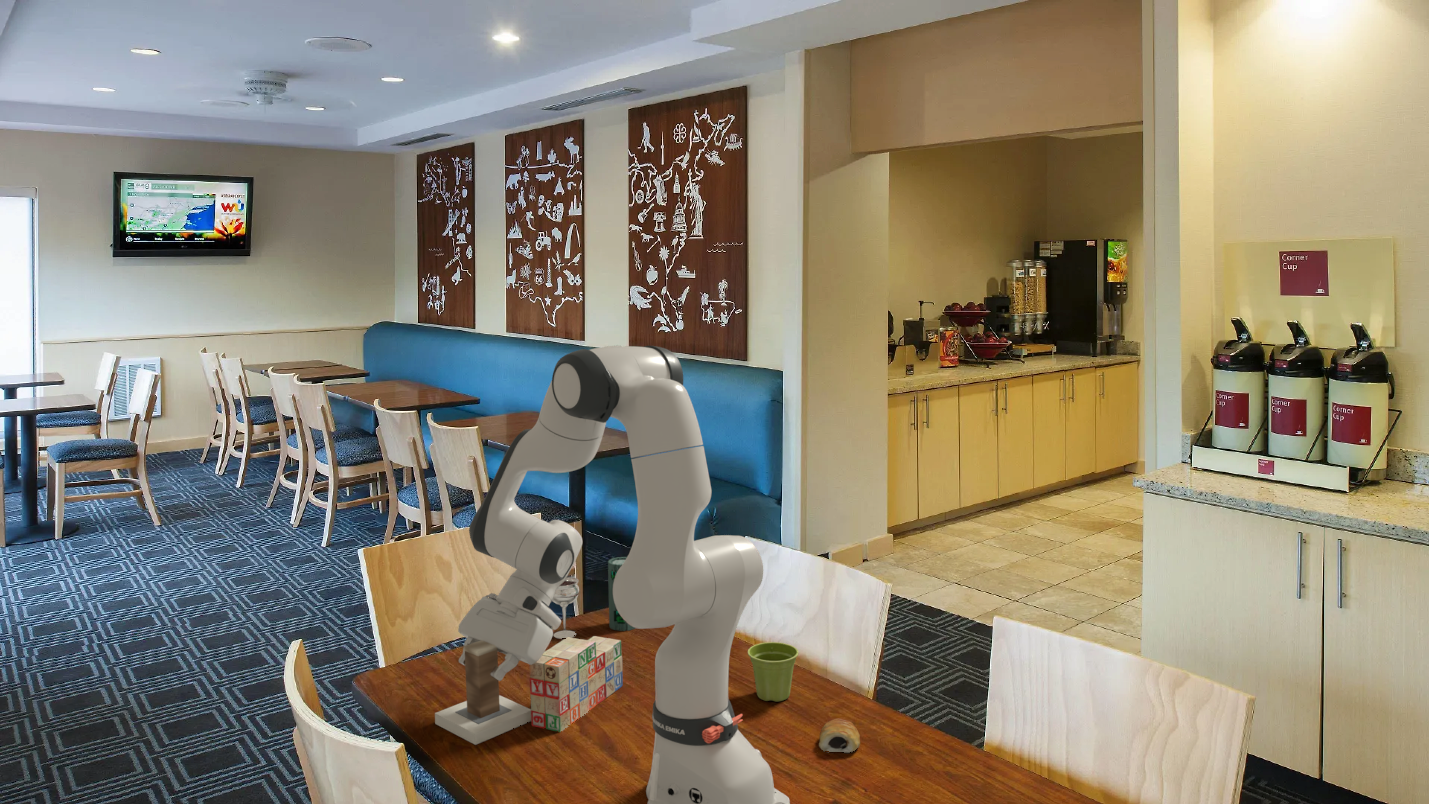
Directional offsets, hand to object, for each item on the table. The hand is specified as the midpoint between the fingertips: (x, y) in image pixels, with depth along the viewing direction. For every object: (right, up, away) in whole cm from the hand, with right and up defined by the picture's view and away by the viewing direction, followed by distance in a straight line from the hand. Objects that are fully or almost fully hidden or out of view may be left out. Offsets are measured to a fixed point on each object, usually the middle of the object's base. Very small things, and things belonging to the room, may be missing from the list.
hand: (478, 671), depth 176 cm
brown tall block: (+1, -7, +1) cm, 8 cm away
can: (+21, -3, +49) cm, 53 cm away
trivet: (+1, -10, +2) cm, 10 cm away
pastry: (+62, -11, -7) cm, 64 cm away
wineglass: (+9, -4, +44) cm, 45 cm away
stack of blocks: (+16, -9, +9) cm, 21 cm away
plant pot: (+52, -8, +12) cm, 54 cm away
